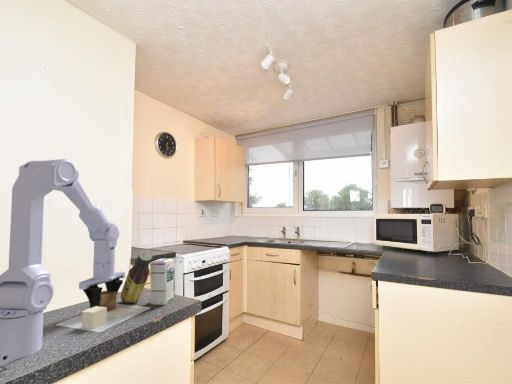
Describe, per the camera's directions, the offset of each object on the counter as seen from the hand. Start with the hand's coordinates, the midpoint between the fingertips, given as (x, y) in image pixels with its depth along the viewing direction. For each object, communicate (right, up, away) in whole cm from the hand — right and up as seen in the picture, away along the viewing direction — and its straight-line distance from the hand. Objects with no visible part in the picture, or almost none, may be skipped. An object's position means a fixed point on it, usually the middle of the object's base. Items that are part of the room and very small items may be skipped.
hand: (103, 307), depth 81 cm
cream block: (+4, 0, -11) cm, 12 cm away
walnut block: (0, -1, 0) cm, 1 cm away
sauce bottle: (+4, -1, +9) cm, 9 cm away
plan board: (+4, -1, -5) cm, 6 cm away
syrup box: (+16, -2, +7) cm, 17 cm away
